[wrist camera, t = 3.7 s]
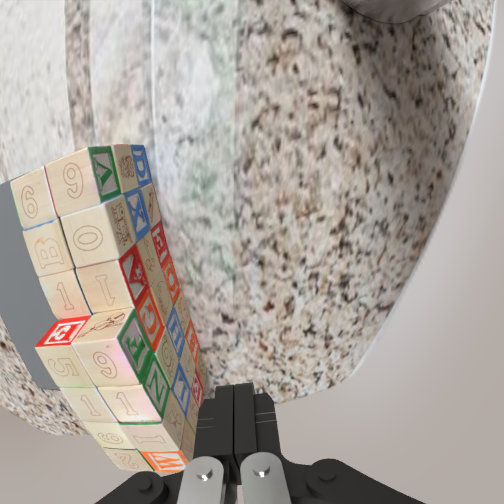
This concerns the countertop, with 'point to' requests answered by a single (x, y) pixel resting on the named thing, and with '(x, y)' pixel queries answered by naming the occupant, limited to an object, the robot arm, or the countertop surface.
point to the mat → (22, 292)
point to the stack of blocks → (114, 305)
